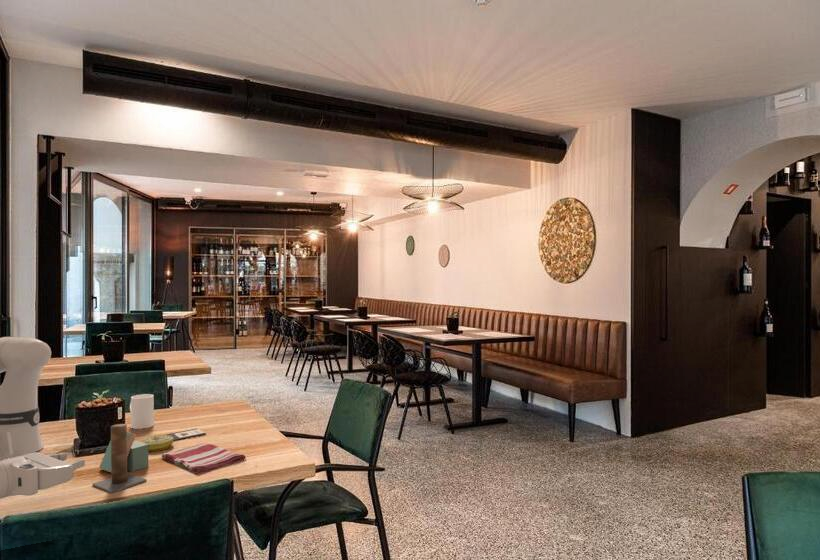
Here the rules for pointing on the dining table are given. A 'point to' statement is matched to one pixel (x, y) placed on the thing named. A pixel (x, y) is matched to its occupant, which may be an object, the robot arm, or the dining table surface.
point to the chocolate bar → (186, 434)
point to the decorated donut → (158, 442)
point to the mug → (142, 411)
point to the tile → (107, 457)
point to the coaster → (113, 488)
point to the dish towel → (202, 457)
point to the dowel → (119, 453)
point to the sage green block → (137, 456)
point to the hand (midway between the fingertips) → (74, 459)
